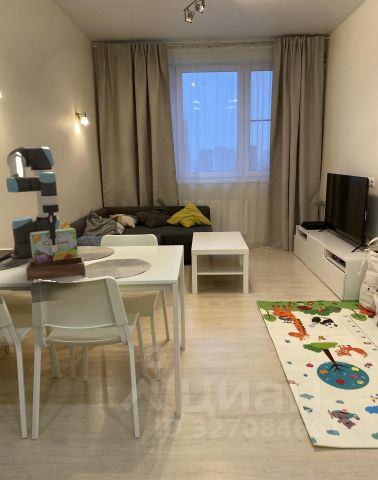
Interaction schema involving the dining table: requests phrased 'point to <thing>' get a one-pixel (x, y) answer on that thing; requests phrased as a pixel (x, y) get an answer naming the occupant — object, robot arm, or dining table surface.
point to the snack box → (43, 245)
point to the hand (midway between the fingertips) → (54, 249)
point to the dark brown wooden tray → (56, 268)
